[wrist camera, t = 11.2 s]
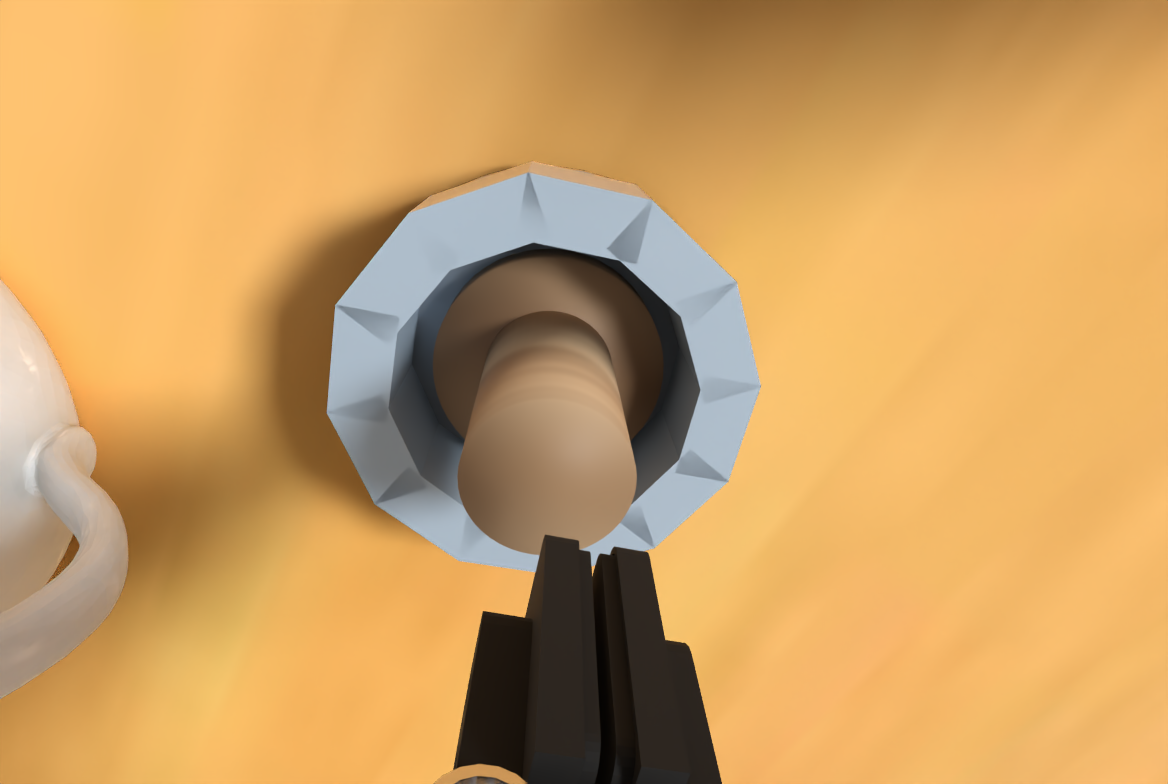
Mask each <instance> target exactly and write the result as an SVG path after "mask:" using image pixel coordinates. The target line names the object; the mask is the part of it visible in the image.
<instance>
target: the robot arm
mask: <svg viewBox="0 0 1168 784" xmlns="http://www.w3.org/2000/svg"><path fill="white" fill-rule="evenodd" d="M434 784H722V782H721V778H720V773H719V769H718V765H717V761H716V756H715V752H714V748H713V743H712V739H711V735H710V731H709V726H708V722H707V718H706V713H705V709H704V705H703V701H702V696H701V692H700V688H699V684H698V679H697V675H696V671H695V666H694V662H693V658H692V654H691V651H690V648H689V646H688V645H687V644H686V643H681V642H674V641H668V640H665V636H664V631H663V626H662V621H661V615H660V610H659V605H658V599H657V594H656V589H655V584H654V578H653V573H652V568H651V562H650V557H649V554H648V553H647V552H644V551H638V550H633V549H627V548H621V547H615V546H614V547H613V548H612V550H611V553H610V555H608V554H602V553H600V554H599V556H598V558H597V561H596V565H595V569H594V573H593V576H592V567H591V553H590V551H584V550H579V541H578V540H574V539H569V538H563V537H557V536H551V535H545V536H544V539H543V542H542V547H541V551H540V555H539V560H538V564H537V568H536V573H535V577H534V581H533V586H532V590H531V594H530V599H529V603H528V607H527V612H526V616H525V618H523V617H517V616H511V615H504V614H498V613H492V612H486V611H483V614H482V618H481V623H480V628H479V633H478V638H477V643H476V648H475V653H474V658H473V663H472V668H471V674H470V679H469V684H468V690H467V695H466V700H465V706H464V712H463V717H462V723H461V729H460V734H459V740H458V746H457V751H456V757H455V763H454V768H453V771H451V772H449V773H446V774H444V775H442V776H441V777H440V778H439V779H438V780H437V781H436V782H435V783H434Z"/></svg>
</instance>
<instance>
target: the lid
mask: <svg viewBox="0 0 1168 784" xmlns="http://www.w3.org/2000/svg"><path fill="white" fill-rule="evenodd" d="M663 368H664V363H663V351H662V346H661V341H660V337H659V334H658V332H657V329H656V326H655V324H654V321H653V319H652V317H651V315H650V313H649V311H648V309H647V307H646V305H645V303H644V301H643V299H642V298H641V297H640V295H639V294H638V293H637V291H636V290H635V288H634V287H633V286H632V285H631V284H630V283H629V282H628V281H627V280H626V279H625V278H624V277H623V276H622V275H620V274H619V273H618V272H616V271H615V270H614V269H613V268H611V267H609V266H608V265H606V264H604V263H603V262H601V261H599V260H597V259H594V258H592V257H590V256H587V255H584V254H581V253H577V252H573V251H568V250H561V249H536V250H527V251H523V252H519V253H515V254H512V255H509V256H507V257H504V258H502V259H499V260H497V261H495V262H494V263H492V264H490V265H488V266H487V267H485V268H484V269H482V270H481V271H480V272H478V273H477V274H476V275H475V276H473V277H472V278H471V279H470V280H469V281H468V282H467V283H466V284H465V285H464V286H463V288H462V289H461V290H460V292H459V293H458V294H457V296H456V297H455V299H454V300H453V302H452V304H451V306H450V308H449V310H448V312H447V314H446V316H445V318H444V320H443V322H442V324H441V326H440V329H439V332H438V335H437V338H436V342H435V347H434V353H433V376H434V383H435V387H436V392H437V395H438V398H439V401H440V403H441V406H442V408H443V410H444V412H445V414H446V416H447V417H448V419H449V421H450V422H451V423H452V425H453V426H454V428H455V429H456V430H457V431H458V432H459V434H460V435H461V436H462V437H463V438H464V439H465V442H464V446H463V450H462V454H461V457H460V462H459V466H458V475H457V480H458V490H459V494H460V498H461V501H462V503H463V506H464V508H465V510H466V512H467V514H468V515H469V517H470V518H471V520H472V521H473V522H474V524H475V525H476V526H477V527H478V528H479V529H480V530H481V531H482V532H483V533H485V534H486V535H487V536H488V537H490V538H491V539H493V540H494V541H496V542H497V543H499V544H501V545H503V546H505V547H508V548H510V549H513V550H516V551H519V552H523V553H527V554H533V555H540V551H541V547H542V542H543V539H544V536H545V535H551V536H557V537H563V538H569V539H574V540H578V541H579V550H581V549H584V548H586V547H588V546H590V545H592V544H594V543H596V542H598V541H599V540H601V539H603V538H604V537H605V536H607V535H608V534H609V533H610V532H612V531H613V530H614V529H615V528H616V526H617V525H618V524H619V523H620V522H621V521H622V519H623V518H624V517H625V515H626V513H627V512H628V510H629V508H630V506H631V503H632V501H633V498H634V495H635V490H636V482H637V472H636V464H635V460H634V455H633V451H632V447H631V442H630V441H631V440H632V439H633V438H634V437H635V436H636V435H637V434H638V432H639V431H640V430H641V429H642V428H643V426H644V425H645V423H646V422H647V420H648V419H649V417H650V415H651V413H652V411H653V409H654V407H655V405H656V403H657V400H658V397H659V394H660V390H661V385H662V381H663Z"/></svg>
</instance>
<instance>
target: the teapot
mask: <svg viewBox="0 0 1168 784" xmlns="http://www.w3.org/2000/svg"><path fill="white" fill-rule="evenodd" d="M96 453H97V451H96V444H95V442H94V440H93V438H92V436H91V434H90V433H89V432H88V431H87V430H86V429H84V428H83V427H80V425H79V419H78V415H77V412H76V409H75V405H74V402H73V399H72V396H71V392H70V389H69V386H68V384H67V381H66V379H65V377H64V374H63V372H62V370H61V368H60V366H59V364H58V362H57V360H56V358H55V356H54V354H53V352H52V350H51V348H50V346H49V344H48V343H47V341H46V339H45V337H44V335H43V334H42V332H41V330H40V329H39V327H38V326H37V324H36V323H35V321H34V320H33V319H32V317H31V316H30V315H29V314H28V312H27V311H26V310H25V308H24V307H23V306H22V304H21V303H20V302H19V300H18V299H17V298H16V297H15V295H14V294H13V293H12V291H11V290H10V289H9V288H8V287H7V286H6V285H5V284H4V282H3V281H2V280H1V279H0V699H1V698H3V697H5V696H6V695H8V694H10V693H11V692H13V691H15V690H17V689H18V688H20V687H22V686H23V685H25V684H26V683H28V682H29V681H31V680H32V679H34V678H35V677H37V676H38V675H40V674H41V673H43V672H44V671H46V670H47V669H48V668H50V667H51V666H53V665H54V664H56V663H57V662H59V661H60V660H61V659H63V658H64V657H66V656H67V655H68V654H69V653H70V652H72V651H73V650H74V649H75V648H76V647H77V646H78V645H80V644H81V643H82V642H83V641H84V640H85V639H86V638H87V637H89V636H90V635H91V634H92V633H93V632H94V631H95V630H96V629H97V628H98V627H99V626H100V625H101V624H102V622H103V621H104V620H105V619H106V618H107V616H108V615H109V614H110V613H111V611H112V609H113V607H114V606H115V604H116V602H117V600H118V598H119V597H120V595H121V592H122V589H123V587H124V584H125V579H126V575H127V571H128V538H127V532H126V528H125V524H124V520H123V518H122V516H121V514H120V512H119V509H118V507H117V506H116V504H115V503H114V502H113V500H112V499H111V498H110V496H109V495H108V494H107V493H106V491H105V490H103V489H102V488H101V487H100V486H99V485H98V484H97V483H96V482H95V481H94V480H93V479H92V478H91V477H90V476H91V474H92V472H93V470H94V468H95V464H96ZM73 534H74V536H75V537H76V538H77V540H78V542H79V545H80V547H79V550H78V552H77V554H76V555H75V557H74V559H73V560H72V562H71V563H70V564H69V565H68V566H67V567H66V568H65V569H64V570H63V571H62V572H61V573H60V574H59V575H58V576H57V577H55V578H54V579H53V580H52V581H50V582H49V583H48V584H46V583H47V582H48V581H49V579H50V578H51V576H52V575H53V574H54V572H55V570H56V569H57V567H58V565H59V563H60V562H61V560H62V558H63V557H64V555H65V553H66V551H67V548H68V546H69V544H70V541H71V539H72V536H73Z"/></svg>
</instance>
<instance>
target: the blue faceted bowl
mask: <svg viewBox="0 0 1168 784" xmlns="http://www.w3.org/2000/svg"><path fill="white" fill-rule="evenodd" d="M536 249H561V250H568V251H573V252H577V253H581V254H584V255H587V256H590V257H592V258H594V259H597V260H599V261H601V262H603V263H604V264H606V265H608V266H609V267H611V268H613V269H614V270H615V271H616V272H618V273H619V274H620V275H622V276H623V277H624V278H625V279H626V280H627V281H628V282H629V283H630V284H631V285H632V286H633V287H634V288H635V290H636V291H637V293H638V294H639V295H640V297H641V298H642V299H643V301H644V303H645V305H646V307H647V309H648V311H649V313H650V315H651V317H652V319H653V321H654V324H655V326H656V329H657V332H658V334H659V337H660V341H661V346H662V351H663V363H664V368H663V381H662V385H661V390H660V394H659V397H658V400H657V403H656V405H655V407H654V409H653V411H652V413H651V415H650V417H649V419H648V420H647V422H646V423H645V425H644V426H643V428H642V429H641V430H640V431H639V432H638V434H637V435H636V436H635V437H634V438H633V439H632V440H631V441H630V442H631V447H632V451H633V455H634V460H635V464H636V472H637V482H636V490H635V495H634V498H633V501H632V503H631V506H630V508H629V510H628V512H627V513H626V515H625V517H624V518H623V519H622V521H621V522H620V523H619V524H618V525H617V526H616V528H615V529H614V530H613V531H612V532H610V533H609V534H608V535H607V536H605V537H604V538H603V539H601V540H599V541H598V542H596V543H594V544H592V545H590V546H588V547H586V548H584V549H581V550H584V551H590V553H591V566H594V565H596V561H597V558H598V556H599V554H600V553H602V554H608V555H610V553H611V550H612V548H613V547H614V546H615V547H621V548H627V549H633V550H638V551H646V550H649V549H653V548H655V547H656V546H657V545H658V544H659V543H661V542H662V541H663V540H664V539H665V538H666V537H667V536H668V535H669V534H671V533H672V532H673V531H674V530H675V529H676V528H677V527H678V526H679V525H681V524H682V523H683V522H684V521H685V520H686V519H687V518H688V517H689V516H691V515H692V514H693V513H694V512H695V511H696V510H697V509H698V508H699V507H701V506H702V505H703V504H704V503H705V502H706V501H707V500H708V499H709V498H711V497H712V496H713V495H714V494H715V493H716V492H717V491H718V490H719V489H721V488H722V487H723V486H724V485H725V484H726V483H727V482H728V480H729V478H730V475H731V472H732V469H733V466H734V463H735V460H736V457H737V454H738V451H739V449H740V446H741V443H742V440H743V437H744V434H745V431H746V428H747V425H748V422H749V419H750V417H751V414H752V411H753V408H754V405H755V402H756V399H757V396H758V393H759V390H760V388H761V385H760V381H759V376H758V372H757V368H756V363H755V359H754V355H753V350H752V346H751V342H750V337H749V333H748V329H747V325H746V320H745V316H744V312H743V307H742V303H741V299H740V294H739V290H738V286H737V282H736V281H735V280H734V279H733V278H732V277H731V276H730V275H729V274H728V273H727V272H726V271H725V270H724V269H723V268H722V267H721V266H720V265H719V264H718V263H717V262H716V261H715V260H714V259H713V258H712V257H711V256H710V255H709V254H707V253H706V252H705V251H704V250H703V249H702V248H701V247H700V246H699V245H698V244H697V243H696V242H695V241H694V240H693V239H692V238H691V237H690V236H689V235H688V234H687V233H686V232H685V231H684V230H682V229H681V228H680V227H679V226H678V225H677V224H676V223H675V222H674V221H673V220H672V219H671V218H670V217H669V216H668V215H667V214H666V213H665V212H664V211H663V210H662V209H661V208H660V207H659V206H658V205H657V204H656V203H655V202H654V201H653V200H652V199H651V198H650V197H649V196H648V195H647V194H646V193H645V192H644V191H643V190H642V189H641V188H640V187H639V186H638V185H636V184H632V183H628V182H623V181H619V180H614V179H610V178H608V177H605V176H601V175H598V174H595V173H591V172H588V171H585V170H580V169H573V168H567V167H560V166H552V165H548V164H543V163H539V162H534V161H530V162H528V163H525V164H522V165H519V166H516V167H513V168H510V169H506V170H502V171H498V172H495V173H491V174H487V175H484V176H481V177H479V178H476V179H474V180H472V181H469V182H467V183H465V184H462V185H460V186H457V187H454V188H451V189H448V190H445V191H443V192H440V193H437V194H434V195H431V196H430V197H428V198H427V199H426V200H424V201H423V202H422V203H420V204H419V205H418V206H417V207H415V208H414V209H413V210H411V211H410V212H409V213H408V214H407V216H406V217H405V218H404V219H403V221H402V222H401V223H400V224H399V226H398V227H397V228H396V229H395V231H394V232H393V233H392V234H391V236H390V237H389V238H388V239H387V241H386V242H385V243H384V244H383V246H382V247H381V248H380V250H379V251H378V252H377V253H376V255H375V256H374V257H373V258H372V260H371V261H370V262H369V263H368V265H367V266H366V267H365V268H364V270H363V271H362V272H361V273H360V275H359V276H358V277H357V278H356V280H355V281H354V282H353V283H352V285H351V286H350V287H349V288H348V290H347V291H346V292H345V294H344V295H343V296H342V297H341V299H340V300H339V301H338V302H337V303H336V304H335V315H334V328H333V340H332V353H331V365H330V378H329V390H328V403H327V414H328V416H329V418H330V420H331V422H332V424H333V426H334V428H335V430H336V431H337V433H338V435H339V437H340V439H341V441H342V443H343V445H344V447H345V449H346V451H347V452H348V454H349V456H350V458H351V460H352V462H353V464H354V466H355V468H356V470H357V472H358V473H359V475H360V477H361V479H362V481H363V483H364V485H365V487H366V489H367V491H368V493H369V494H370V496H371V498H372V500H373V502H374V504H375V505H377V506H378V507H380V508H381V509H383V510H384V511H386V512H387V513H389V514H390V515H391V516H393V517H394V518H396V519H397V520H399V521H400V522H402V523H403V524H405V525H406V526H408V527H409V528H411V529H412V530H414V531H415V532H417V533H418V534H420V535H421V536H423V537H424V538H426V539H427V540H429V541H430V542H432V543H433V544H435V545H436V546H438V547H439V548H441V549H442V550H444V551H445V552H447V553H448V554H449V555H451V556H452V557H454V558H455V559H457V560H458V561H464V562H470V563H477V564H484V565H490V566H497V567H504V568H511V569H517V570H524V571H531V572H536V568H537V564H538V560H539V555H533V554H527V553H523V552H519V551H516V550H513V549H510V548H508V547H505V546H503V545H501V544H499V543H497V542H496V541H494V540H493V539H491V538H490V537H488V536H487V535H486V534H485V533H483V532H482V531H481V530H480V529H479V528H478V527H477V526H476V525H475V524H474V522H473V521H472V520H471V518H470V517H469V515H468V514H467V512H466V510H465V508H464V506H463V503H462V501H461V498H460V494H459V490H458V480H457V475H458V466H459V462H460V457H461V454H462V450H463V446H464V442H465V439H464V438H463V437H462V436H461V435H460V434H459V432H458V431H457V430H456V429H455V428H454V426H453V425H452V423H451V422H450V421H449V419H448V417H447V416H446V414H445V412H444V410H443V408H442V406H441V403H440V401H439V398H438V395H437V392H436V387H435V383H434V376H433V353H434V347H435V342H436V338H437V335H438V332H439V329H440V326H441V324H442V322H443V320H444V318H445V316H446V314H447V312H448V310H449V308H450V306H451V304H452V302H453V300H454V299H455V297H456V296H457V294H458V293H459V292H460V290H461V289H462V288H463V286H464V285H465V284H466V283H467V282H468V281H469V280H470V279H471V278H472V277H473V276H475V275H476V274H477V273H478V272H480V271H481V270H482V269H484V268H485V267H487V266H488V265H490V264H492V263H494V262H495V261H497V260H499V259H502V258H504V257H507V256H509V255H512V254H515V253H519V252H523V251H527V250H536Z"/></svg>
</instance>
